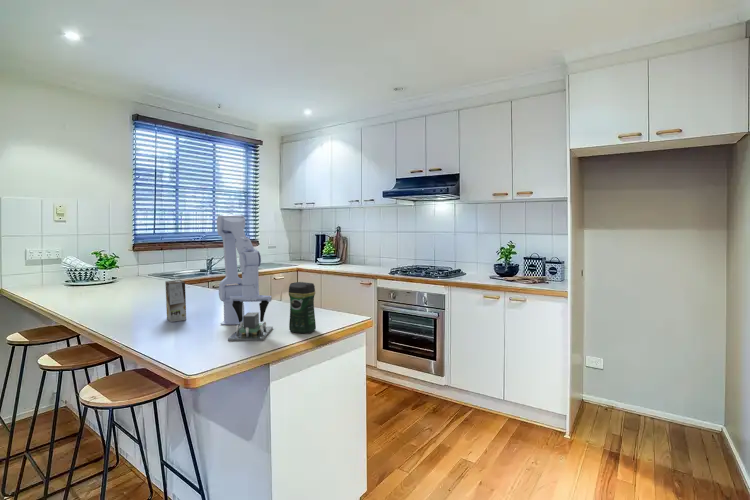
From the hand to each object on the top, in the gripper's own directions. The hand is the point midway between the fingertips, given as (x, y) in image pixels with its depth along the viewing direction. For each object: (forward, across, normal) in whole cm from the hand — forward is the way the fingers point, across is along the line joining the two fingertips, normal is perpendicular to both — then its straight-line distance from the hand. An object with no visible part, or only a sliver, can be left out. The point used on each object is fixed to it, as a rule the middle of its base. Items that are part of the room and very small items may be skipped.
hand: (251, 321), depth 148 cm
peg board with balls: (+5, 0, 0) cm, 5 cm away
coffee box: (+5, -38, +25) cm, 46 cm away
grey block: (+3, 0, 0) cm, 3 cm away
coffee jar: (+5, +18, +4) cm, 19 cm away
